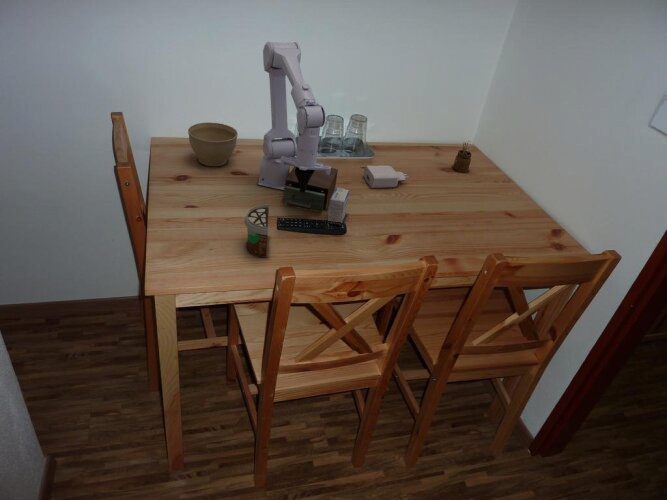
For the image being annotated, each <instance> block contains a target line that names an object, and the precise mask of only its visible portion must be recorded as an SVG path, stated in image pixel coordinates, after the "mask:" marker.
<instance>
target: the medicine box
mask: <svg viewBox="0 0 667 500" xmlns="http://www.w3.org/2000/svg"><path fill="white" fill-rule="evenodd" d="M349 196H350V190H349V189H347V188H342V187H335V191H334V193H333V195H332V197H331V199H330V202H329V204H328V213H327V220H328V221H336V222H341V223H342V224H343V222H344V220H345V217H346V214H347V209H348V202H349Z"/></svg>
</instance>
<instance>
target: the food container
mask: <svg viewBox="0 0 667 500" xmlns="http://www.w3.org/2000/svg"><path fill="white" fill-rule="evenodd" d="M269 213H270V204H259V205H255V206H253V207H251V208H250V209H249V210H248V211H247V213H246V214H245V217H244V225H245V227H246V228H247V229H246V230H247V231H246V232H247V247H248V250H249V251H250V253H252V254H253V255H255V256H258V257H263V258H267V250H268V237H269V236H268V235H269V234H268V233H269V216H270V215H269Z"/></svg>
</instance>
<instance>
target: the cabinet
mask: <svg viewBox="0 0 667 500" xmlns="http://www.w3.org/2000/svg"><path fill="white" fill-rule="evenodd" d="M295 169H296V167H294V166H293V168H292V169H291V170H290V171H289V175H288V177H287V178H286V181H285V186H289V184H290V183H293V184H298V185H299V182H298V179H297V177H296V175H295ZM338 172H339V169H338V168H334V167H331V172H330V174H329V175H327V174H326V173H323V172H318V171H314V173H313V175H312V176H311V178H310V180H309V182H308V184H307V187H312V188H316V189H321V190H326V193H325V200H324V204H323V211H327V208H328V207H329V204H330V199H331V197H332V195H333V193H334V191H335V188H336V184H337V179H338Z"/></svg>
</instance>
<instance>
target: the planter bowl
mask: <svg viewBox="0 0 667 500" xmlns="http://www.w3.org/2000/svg"><path fill="white" fill-rule="evenodd" d="M187 134H188V139H189V144H190V147H191V149H192V151H193V153H194V155H195V157H197V159H198V162H199V163H200V164H201V165H204V166H208V167H222V166H224V165H225V164H227V163H228V160H229V158H230V157H231V156H232V154H233V152H234V151H235V149H236V145H237V139H238V131H237V129H235V128H234V127H233V126H231V125H228V124H225V123H221V122H220V123H219V122H198V123H195V124H192V125H191V126H189V127H188V129H187Z"/></svg>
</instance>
